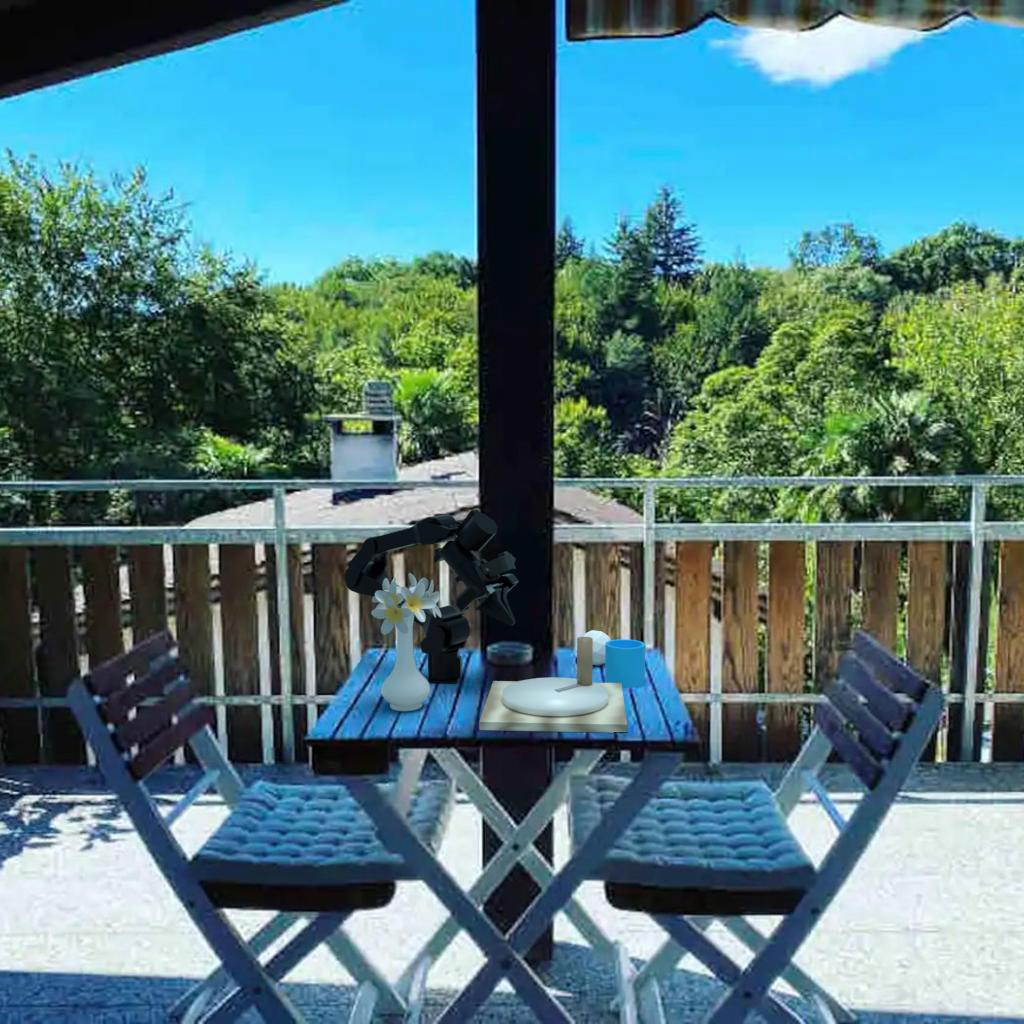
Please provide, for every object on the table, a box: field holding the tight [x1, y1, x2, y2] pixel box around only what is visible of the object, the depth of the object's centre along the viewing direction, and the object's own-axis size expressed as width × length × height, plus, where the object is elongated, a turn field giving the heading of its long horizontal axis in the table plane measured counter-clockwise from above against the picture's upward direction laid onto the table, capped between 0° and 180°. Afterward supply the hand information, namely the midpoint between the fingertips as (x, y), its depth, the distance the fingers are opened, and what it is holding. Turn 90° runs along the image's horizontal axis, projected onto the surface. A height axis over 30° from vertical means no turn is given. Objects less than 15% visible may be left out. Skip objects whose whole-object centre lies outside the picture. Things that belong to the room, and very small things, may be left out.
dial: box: [502, 636, 608, 716], centre depth 183 cm, size 20×20×10 cm
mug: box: [604, 638, 646, 689], centre depth 203 cm, size 12×8×8 cm
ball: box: [581, 629, 611, 667], centre depth 215 cm, size 8×8×8 cm
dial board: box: [478, 680, 628, 734], centre depth 184 cm, size 26×26×2 cm
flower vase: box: [370, 572, 441, 712], centre depth 183 cm, size 13×18×25 cm
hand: (513, 624), depth 195 cm, fingers closed
